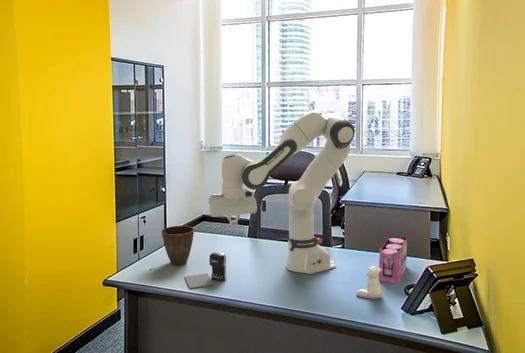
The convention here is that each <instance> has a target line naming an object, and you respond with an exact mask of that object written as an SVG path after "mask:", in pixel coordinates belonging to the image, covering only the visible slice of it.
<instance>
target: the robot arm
mask: <svg viewBox="0 0 525 353" xmlns="http://www.w3.org/2000/svg"><path fill="white" fill-rule="evenodd" d="M355 131H356V130H355V126H354V125H353V124H352V123H351V122H350V120H347V119H346V118H345V117H343V116H342V115H340V114H336V112H333V111H328V110H327V111H323V112H319V111H316V110H310V111H308V112H306V113H305V114H303V115H301V116H300V117H299V118H297V119H296V120H294V122H292V123H291V124H290V125H289V126H287V128H286V129H285V130H284V131H283V133H281V136H280V140H279V141H278V144H277V146H276V147H275V148H274V149H273V150H272V151H271V152H270V153H269V154H267V155H266V156H265V157H264V158H263V159H262V160H261V161H255V160H252V159H249V158H247V157H245V156H243V155H242V154H241V153H232V154H228V155H225V157H224V158H222V161H221V178H222V184H221V188H222V189H221V193H217V194H215V193H213V194H211V195H210V196H209V197H208V204H209V206H208V209H209V210H208V213H209V216H210V217H212V218H216V217H217V218H218V217H226V218H227V220H228V221H229V225H230V226H237V225H238V222H239V219H240V218H241V215H248V214H250V215H251V214H256V213H257V210H258V203H257V199H256V197H255V192H254V190H255V191H256V190H260V189H262V188H263V187H265V185H266V184H267V183H268V181H269V179H270V176H271V175H272V174H273V173H274V171H276V170H278V168H279V167H281V165H283V163H285V162H286V161H287V160H288V159H290V157H292V156H294V155H295V154H297V153H298V152H300V151H302V150H303V149H304V148H306V147H307V146H309V145H310V143H312V142H313V141H314V140H315V139H317V138H319V137H320V136H323V137H324V138H325V139H326V143H325V144H324V146H323V147H322V149H321V150H320V151H318V154H317V155H316V156H315V157H314V159H313V160H312V161H311V162H310V163H309V165H308V166H307V167H306V169H305V171H304V172H303V173H302V175H301V176H300V177H299V179H298V180H296V181H294V182H292V184H291V185H290V186H289V189H288V238H287V247H288V255H287V259H286V260H287V261H286V264H285V268H286V269H287V270H289V271H290V272H291V271H292V272H294V273H304V274H308V275H312V274H315V273H319V272H323V271H327V270H331V269H332V270H333V269H335V268H336V264H335V262H334V261H333V260H331V256H330V253H329V252H328V251H327V250H326V249H325V248H324V247H322V246H321V245H320V244H321V243H322V239H321V238H320V237H316V236H315V216H314V204H315V202H316V201H317V200H318V198H319V197H320V195H321V193H323V192H322V191H324V190H325V188H326V185H327V184H328V183H329V182H330V180H331V179H332V178H333V176H334V175H335V174H336V173H337V171H338V170H339V168H341V167H342V164H344V162H345V160H346V159H347V157H348V156H349V154H350V151H351V147H350V145H351V144H352V141H353V139H354V137H355V134H356V132H355ZM244 186H245V188H244ZM232 216H235V218H234V220H233V219H231V218H232Z"/></svg>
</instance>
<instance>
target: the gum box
mask: <svg viewBox="0 0 525 353" xmlns="http://www.w3.org/2000/svg"><path fill="white" fill-rule="evenodd" d="M407 250H408V237H403V236H401V237H400V236H394V235H393V236H392V235H390V236H389V237H388V238H387V240H386V241H385V242H384V244H382V246H381V247H380V249H379V259H378V260H379V261H378V262H379V264H378V269H379V268H381V269H382V270H381V272H379V276H378V277H377V278H378V280H379V282H384V283H389V284H395V285H398V283H399V281H400V280H401V278H402V276H403V274H404V272H405V270H406V269H407V258H408V257H407V254H408V252H407Z"/></svg>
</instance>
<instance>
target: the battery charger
mask: <svg viewBox="0 0 525 353" xmlns="http://www.w3.org/2000/svg"><path fill="white" fill-rule="evenodd" d="M209 266H211V271H212V272H211V276H210V278H211V280H215V281H219V282H223V281H225V280H227V256H226V254H224V253H222V252H219V251H214V252H213V253H210V255H209Z"/></svg>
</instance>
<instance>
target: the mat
mask: <svg viewBox="0 0 525 353" xmlns="http://www.w3.org/2000/svg"><path fill="white" fill-rule="evenodd" d="M184 280H185V282H186V284H187V286H188V288H189V290H193V289H201V288H207V287H214V286H215V283H214V281H213V279H212V278H211V276H209V274H208V272H207V273H201V274H200V273H199V274H193V275H187V276H186V275H185V276H184Z"/></svg>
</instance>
